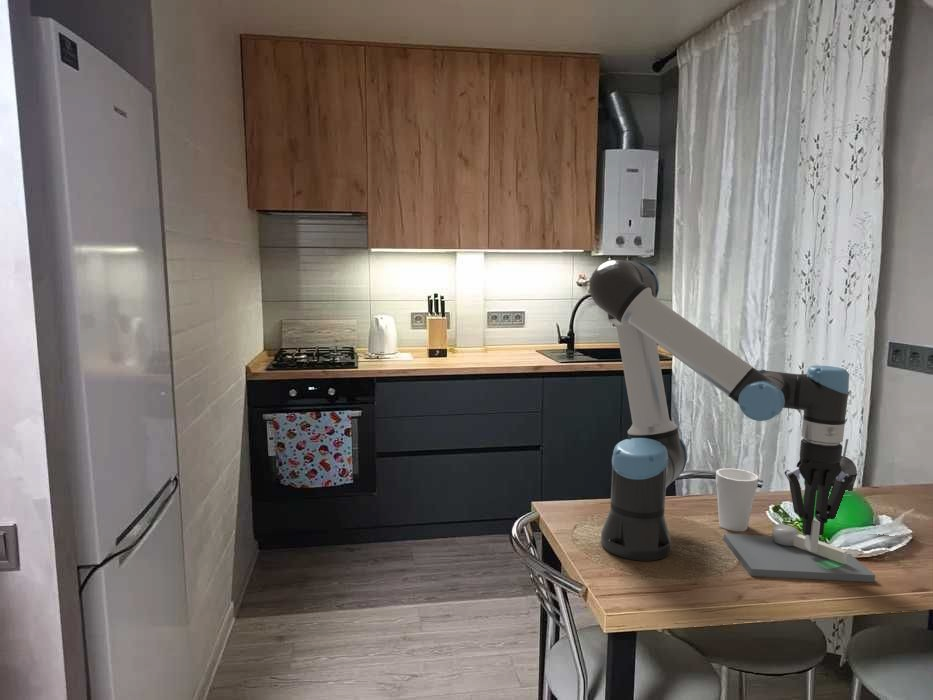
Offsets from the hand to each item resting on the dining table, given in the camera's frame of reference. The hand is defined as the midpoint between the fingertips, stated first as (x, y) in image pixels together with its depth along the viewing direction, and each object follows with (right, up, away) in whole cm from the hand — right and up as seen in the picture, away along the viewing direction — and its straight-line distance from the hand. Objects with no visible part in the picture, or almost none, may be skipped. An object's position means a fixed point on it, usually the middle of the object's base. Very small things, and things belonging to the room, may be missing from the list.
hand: (810, 548), depth 131 cm
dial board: (-3, -3, +2) cm, 4 cm away
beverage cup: (+22, 0, +27) cm, 35 cm away
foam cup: (-8, -1, +20) cm, 21 cm away
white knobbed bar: (+1, -1, +3) cm, 3 cm away
